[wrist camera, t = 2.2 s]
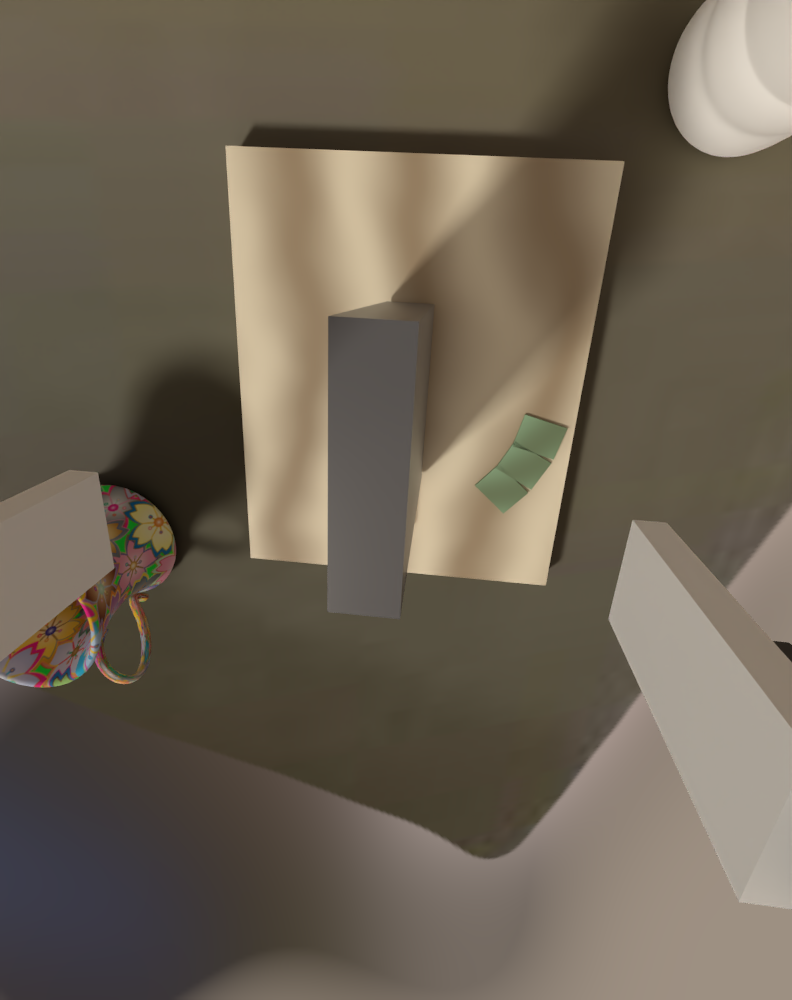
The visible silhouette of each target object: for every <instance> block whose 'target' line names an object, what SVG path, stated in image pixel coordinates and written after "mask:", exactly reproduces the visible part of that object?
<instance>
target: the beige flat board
mask: <svg viewBox="0 0 792 1000" xmlns="http://www.w3.org/2000/svg"><path fill="white" fill-rule="evenodd" d="M226 161H227V178H228V194H229V210H230V227H231V243H232V259H233V276H234V292H235V308H236V325H237V341H238V357H239V374H240V390H241V406H242V423H243V439H244V455H245V472H246V488H247V504H248V521H249V537H250V553H251V558H260V559H270V560H281V561H292V562H302V563H313V564H323V565H328V316H330V315H334V314H338V313H342V312H346V311H350V310H354V309H358V308H362V307H366V306H370V305H374V304H378V303H382V302H386V301H390V302H407V303H424V304H434V318H433V331H432V344H431V358H430V371H429V384H428V398H427V411H426V425H425V438H424V451H423V465H422V477H421V484H420V491H419V497H418V504H417V510H416V517H415V523H414V530H413V536H412V543H411V550H410V556H409V563H408V569H407V572H408V573H419V574H430V575H440V576H451V577H461V578H472V579H483V580H493V581H504V582H514V583H525V584H536V585H546V581H547V575H548V570H549V565H550V559H551V554H552V548H553V543H554V538H555V532H556V527H557V522H558V516H559V511H560V506H561V500H562V495H563V489H564V484H565V479H566V473H567V468H568V463H569V457H570V452H571V446H572V441H573V436H574V430H575V425H576V420H577V414H578V409H579V404H580V398H581V393H582V387H583V382H584V377H585V371H586V366H587V361H588V355H589V350H590V345H591V339H592V334H593V328H594V323H595V318H596V312H597V307H598V302H599V296H600V291H601V285H602V280H603V275H604V269H605V264H606V259H607V253H608V248H609V243H610V237H611V232H612V226H613V221H614V216H615V210H616V205H617V200H618V194H619V189H620V183H621V178H622V173H623V167H624V162H625V161H606V160H580V159H555V158H529V157H503V156H477V155H451V154H425V153H400V152H374V151H348V150H322V149H296V148H270V147H245V146H226Z"/></svg>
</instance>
